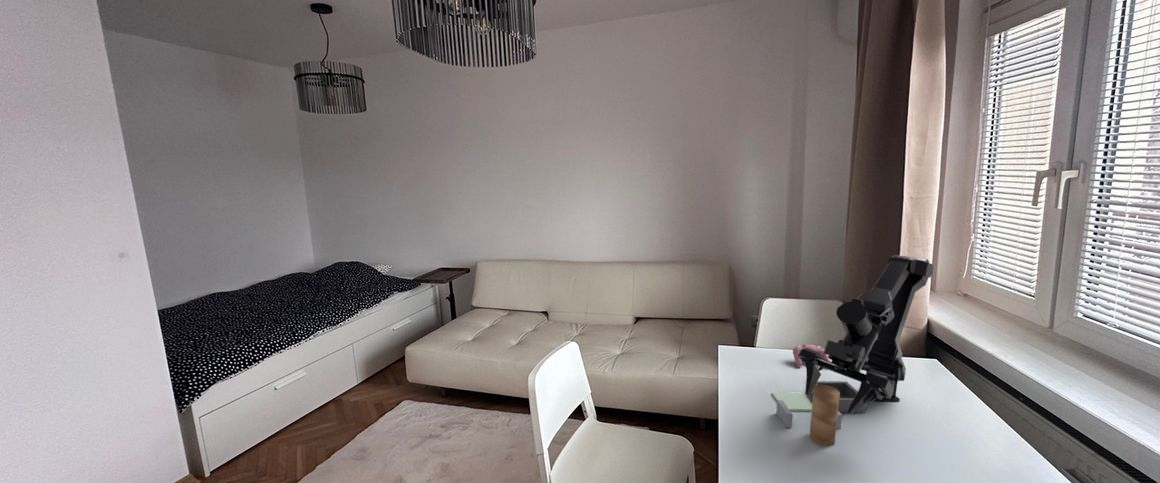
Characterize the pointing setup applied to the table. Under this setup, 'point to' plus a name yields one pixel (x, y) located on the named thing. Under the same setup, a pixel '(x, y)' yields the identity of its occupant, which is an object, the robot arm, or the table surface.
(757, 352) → the table surface
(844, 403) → the gray open box
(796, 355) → the video game controller
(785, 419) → the channel
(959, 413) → the table surface
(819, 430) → the walnut post
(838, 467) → the table surface
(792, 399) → the pad
